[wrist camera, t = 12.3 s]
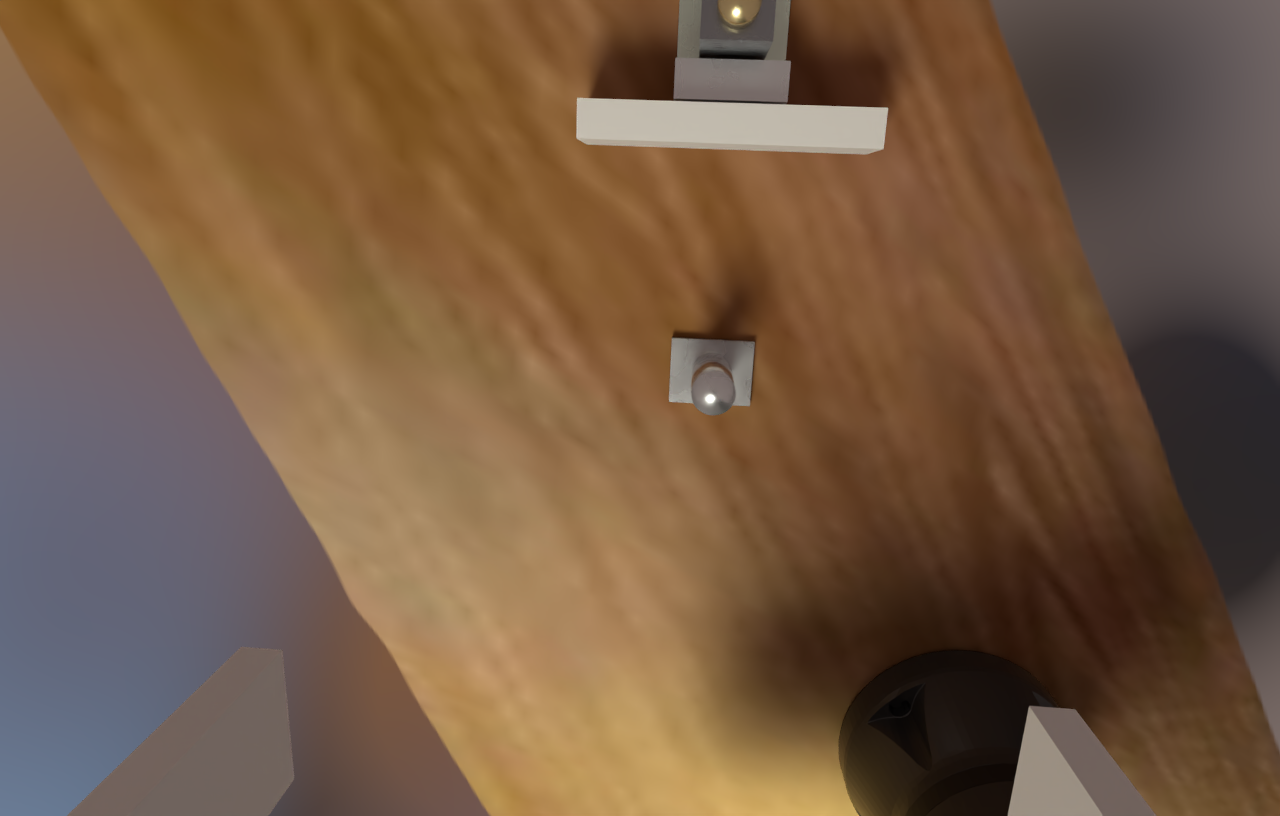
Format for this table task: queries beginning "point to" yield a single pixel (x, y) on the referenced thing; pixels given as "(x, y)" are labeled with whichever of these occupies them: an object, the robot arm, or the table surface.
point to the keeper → (730, 65)
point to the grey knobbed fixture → (711, 373)
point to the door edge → (731, 126)
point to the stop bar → (736, 29)
